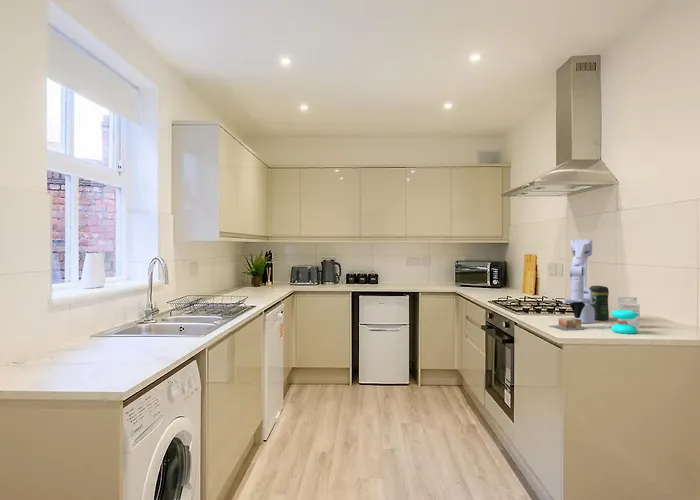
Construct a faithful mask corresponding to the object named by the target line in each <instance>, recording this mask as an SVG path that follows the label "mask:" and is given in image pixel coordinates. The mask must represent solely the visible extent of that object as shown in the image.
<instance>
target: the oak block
mask: <svg viewBox="0 0 700 500" xmlns="http://www.w3.org/2000/svg"><path fill="white" fill-rule="evenodd" d="M558 325H559V327H562V328H566V329H571V328H581V329H582V323H581V320H580V319H575V318H574V317H563V318H558Z"/></svg>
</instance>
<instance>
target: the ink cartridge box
mask: <svg viewBox="0 0 700 500" xmlns="http://www.w3.org/2000/svg"><path fill="white" fill-rule="evenodd" d="M617 298H618V300H617V310H629V311H634V312H636V313H637V316H636V318H634V319H628V320H627V319H618V318H617V324H629V325H632V326H634V327H636V329H640V324H641V323H640V316H641V315H640V312H641V309H640V305H641V304H639V303H638V302H637V301H638V300H637V298H638V297H637V296H636V297H633V296H618V297H617Z"/></svg>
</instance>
